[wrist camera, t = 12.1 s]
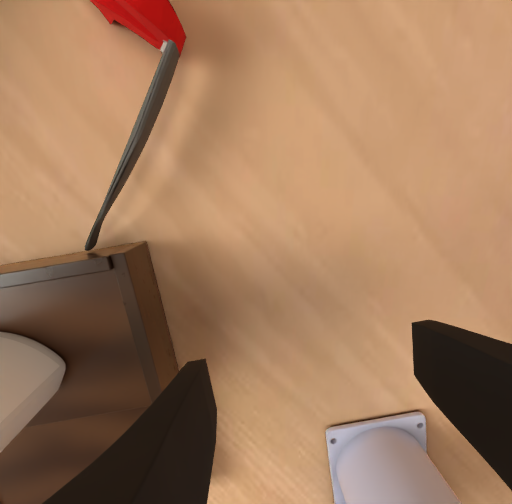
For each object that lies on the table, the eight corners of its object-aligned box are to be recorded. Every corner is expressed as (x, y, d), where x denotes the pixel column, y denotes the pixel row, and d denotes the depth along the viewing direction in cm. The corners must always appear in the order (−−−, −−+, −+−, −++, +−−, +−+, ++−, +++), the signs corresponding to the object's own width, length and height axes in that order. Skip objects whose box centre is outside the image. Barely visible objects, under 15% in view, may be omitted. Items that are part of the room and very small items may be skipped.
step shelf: (205, 477, 23) (198, 536, 19) (15, 512, 23) (-32, 578, 19) (146, 240, 19) (121, 253, 15) (-89, 279, 19) (-176, 303, 15)
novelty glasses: (201, 30, 16) (184, -38, 12) (121, 260, 19) (80, 283, 14) (-51, -97, 15) (-197, -241, 10) (-101, 175, 17) (-236, 168, 12)
